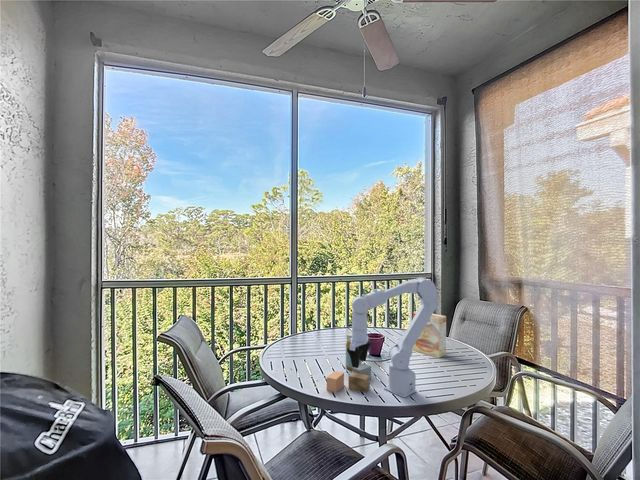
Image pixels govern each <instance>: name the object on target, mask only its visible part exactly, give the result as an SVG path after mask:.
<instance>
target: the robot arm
mask: <svg viewBox="0 0 640 480" xmlns="http://www.w3.org/2000/svg"><path fill="white" fill-rule="evenodd" d="M406 293H410V294H415V295H418V299H419V300H420V303H421V304H420V305H419V307H418V310H417V311H416V312H417V313H416V315H415V316H414V318H413V317H412V320H411V321H410V323H409V324H408V326H407V328H406V329H405V331H404V333H403V335H402V337H401V338H400V339H399V340H398V341H396V343H395V344H394V345H393V346H391V347H390V348H389V351H388V356H389V358H390V359H391V360H390V362H389V364H388V385H387V386H385V387H383V389H384V390H385V391H387V392H390V393H393V394H395V395H397V396H400V397H402V398H407V397H408V396H410V395H412V394H414V393H416V392H417V389H416V373H415V371H413V370H412V369H410V368H409V366H410V365H409V364H410V360H411V359H410V358H411V357H412V354H413V346H414V345H415V343H416V341H417V340H418V338H419V336H420V334H421V333H422V331H423V329H424V328H425V326H426V324H427V323H428V321H429V319H430V318H431V316H432V314H435V313H434V312H435V311H436V309H437V305H438V304H437V303H438V301H437V297H438V296H437V294H438V289H437V286H436V285H435V283H434V282H433V281H432V280H430V279H427V278H425V277H423V276H419V277H416V278H412V279H409V280H407V281H404V282H402V283H399V284H398V285H395V286H392V287H391V288H388V289H386V290H383V289H377V288H375V289H373V291H372V292H368V293H366V294H365V293H363V294H361V295H360V296H355V298H353V299H352V302H351V306H352V316H351V318H352V319H351V332H352V338H350V339H349V341H351V344H350V347H348V348H347V352H348V353H349V355H350V358H351V362H352V367H355V368H358V367H359V360H360V361H362V362H366V360H367V357H368V352H369V349H370V348H371V345H372V342H371V341H369V335H368V316H367V315H368V314H367V312H368V310H372V309H374V308H377V307H380V306H383V305H385V304H386V303H387V301H388V299H389V300H390V299H392V298H394V297H398V296H401V295H404V294H406ZM358 349H359V350H358Z"/></svg>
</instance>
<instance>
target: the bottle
mask: <svg viewBox="0 0 640 480" xmlns="http://www.w3.org/2000/svg"><path fill="white" fill-rule="evenodd" d="M350 338H352V331H351V332H347V333H346V343H345V368H346V369H348V370H350V371H352V362H351V358H350V355H349V353H348V352H347V348H348V347H350V344H351V341H349V339H350ZM358 350H359V349H358ZM362 362H363V361H360V360H359V365H360V364H363V363H362Z"/></svg>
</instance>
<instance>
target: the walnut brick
mask: <svg viewBox="0 0 640 480" xmlns="http://www.w3.org/2000/svg"><path fill="white" fill-rule="evenodd" d="M370 379H371V378H370V376H368V375H363V374H359V373H354V372H352V371H351V373H350V374H348V389H349V390H353V391H358V392H361V393H367V392H368V391H369V390H370Z"/></svg>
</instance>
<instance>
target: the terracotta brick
mask: <svg viewBox="0 0 640 480" xmlns="http://www.w3.org/2000/svg"><path fill="white" fill-rule="evenodd" d="M344 386H345V372H341V371H337V370H334V371H333V372H331V373H330V374H329V375H327V376H326V391H328V392H332V393H337V392H339V391H340V390H341V389H342V388H343V387H344Z"/></svg>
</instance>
